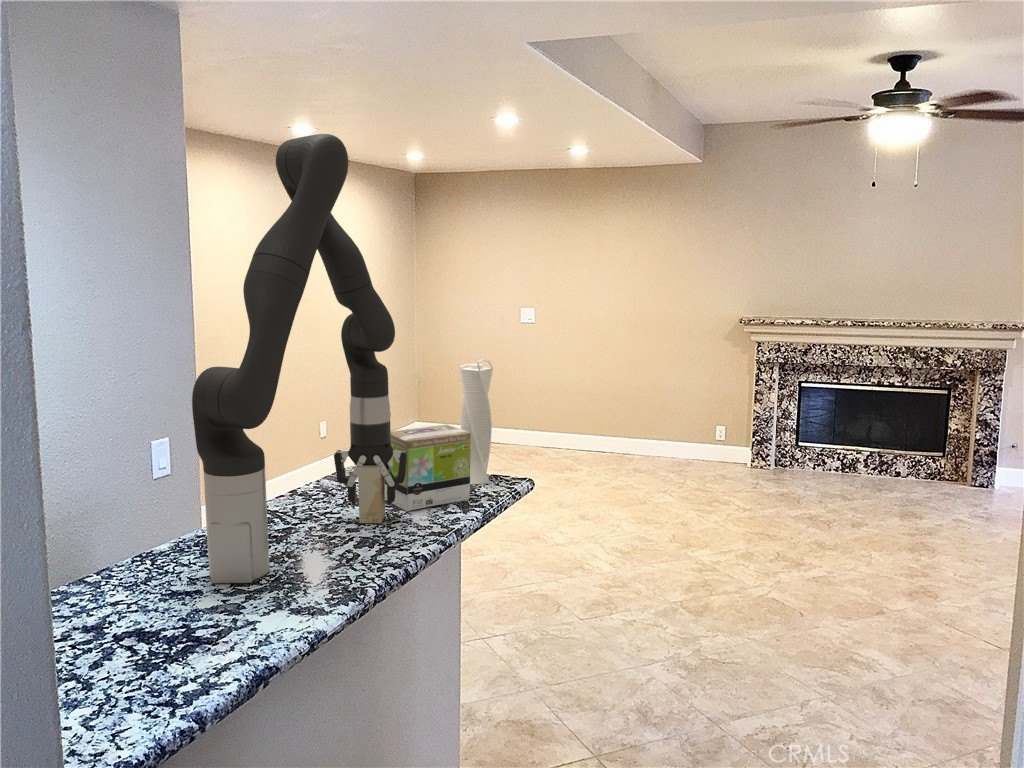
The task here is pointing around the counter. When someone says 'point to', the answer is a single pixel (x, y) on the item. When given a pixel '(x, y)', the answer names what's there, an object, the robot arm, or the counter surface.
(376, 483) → the box
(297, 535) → the counter surface
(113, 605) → the counter surface
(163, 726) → the counter surface
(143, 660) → the counter surface
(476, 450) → the skyscraper
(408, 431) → the tea box
